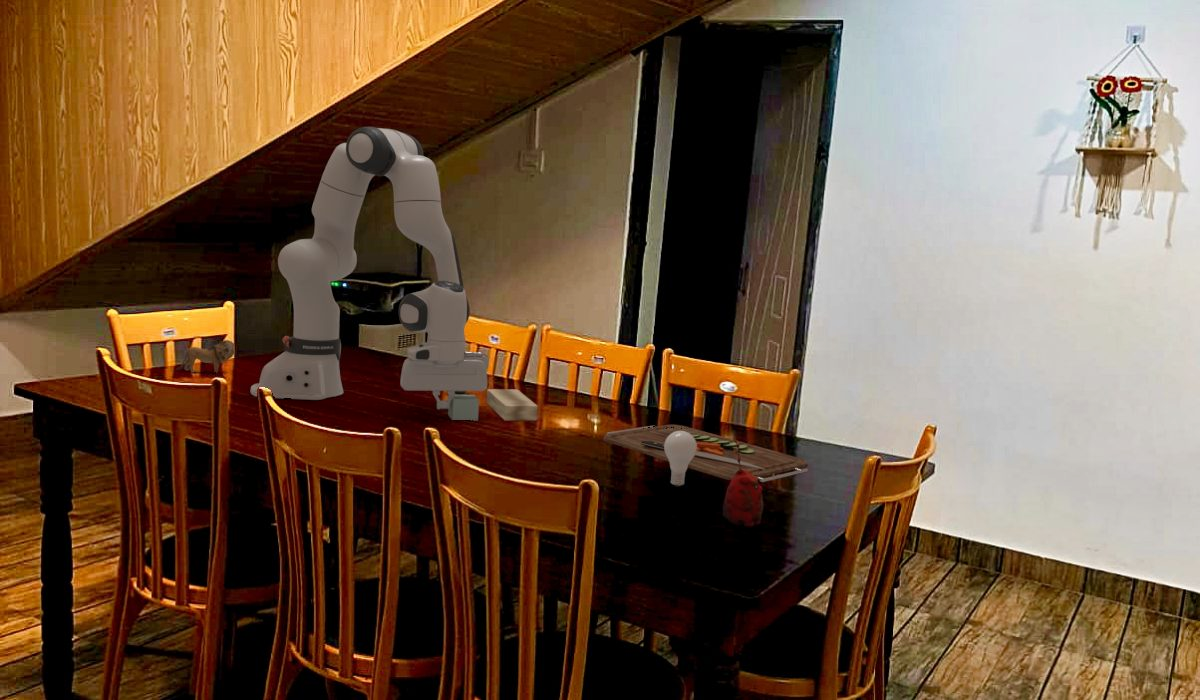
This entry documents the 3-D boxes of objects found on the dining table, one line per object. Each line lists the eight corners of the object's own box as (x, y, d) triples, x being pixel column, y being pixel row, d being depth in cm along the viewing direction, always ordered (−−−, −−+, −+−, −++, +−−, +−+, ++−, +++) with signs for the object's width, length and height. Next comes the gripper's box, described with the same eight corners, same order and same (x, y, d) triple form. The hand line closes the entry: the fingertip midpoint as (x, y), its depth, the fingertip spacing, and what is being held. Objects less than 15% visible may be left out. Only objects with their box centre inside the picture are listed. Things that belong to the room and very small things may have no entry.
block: (452, 420, 243) (453, 399, 243) (448, 414, 249) (449, 394, 248) (477, 420, 245) (479, 399, 245) (472, 414, 251) (474, 394, 250)
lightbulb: (691, 482, 206) (696, 428, 204) (695, 491, 199) (700, 436, 198) (659, 480, 205) (664, 426, 204) (662, 489, 199) (667, 433, 197)
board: (504, 420, 248) (505, 406, 247) (486, 402, 266) (487, 389, 266) (536, 420, 250) (537, 406, 250) (516, 402, 269) (517, 389, 268)
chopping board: (822, 470, 225) (823, 456, 224) (746, 488, 206) (748, 473, 206) (667, 426, 256) (668, 414, 256) (590, 439, 238) (591, 426, 237)
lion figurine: (235, 371, 282) (236, 339, 281) (233, 375, 277) (233, 342, 276) (177, 369, 279) (178, 336, 278) (174, 373, 274) (174, 339, 272)
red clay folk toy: (761, 530, 178) (769, 446, 176) (720, 525, 180) (728, 441, 177) (761, 517, 186) (770, 436, 184) (722, 513, 187) (730, 432, 185)
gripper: (486, 349, 249) (483, 406, 251) (400, 348, 243) (398, 405, 245) (492, 354, 243) (488, 411, 245) (404, 352, 237) (401, 411, 239)
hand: (442, 408), depth 245 cm, fingers closed
